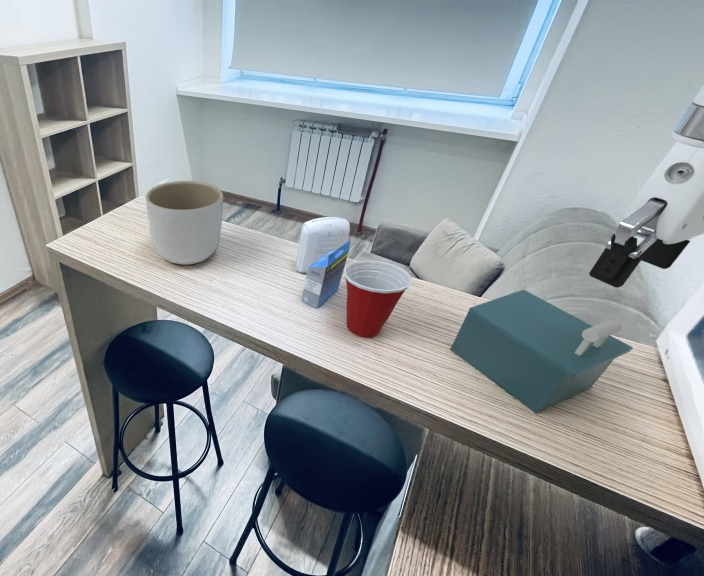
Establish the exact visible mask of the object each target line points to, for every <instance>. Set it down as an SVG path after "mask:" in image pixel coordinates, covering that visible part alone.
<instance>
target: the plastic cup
mask: <svg viewBox="0 0 704 576" xmlns="http://www.w3.org/2000/svg"><path fill="white" fill-rule="evenodd" d="M343 277H344V278H345V282H346V309H345V310H346V318H345V319H346V320H345V321H346V328H347V329H348V331H349V332H350V333H351V334H353V335H355V336H357V337H360V338H366V339H368V338H374V337H377V336H378V334H380V332H381V330H382V329H383V327H384V325H385V324H386V323H387V321H388V319H389V318H390V316H391V314H392V313H393V311H394V309H395V307H396V306H397V304H398V302H399V301H400V299H401V297H402V296H403V294H405V291H406V290H408V289H409V288H410V286H411V285H412V283H413V278H412V276H411V274H410V273H409V272H408V271H407V270H406V269H405V268H403V267H401V266H398V265H396V264H393V263H390V262H386V261H381V260H372V259H370V260H369V259H366V260H365V259H364V260H356V261H353V262H350V263H347V265H345V266H344V270H343Z"/></svg>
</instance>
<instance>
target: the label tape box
mask: <svg viewBox="0 0 704 576" xmlns="http://www.w3.org/2000/svg"><path fill="white" fill-rule="evenodd" d="M351 240H352V238H349V239H348V240H347V242H346V243H345V244H343V245H342V246H340V247H339V248H337V249H336V250H331V251H329V252H328V253H327V254H325V255H324V256H323V257H321V258H320V259H319V260H318V261H316V262H315V263H314V264H312V265H311V266H310V267H308V271H307V273H306V275H305V276H306V277H305V281H304V286H303V290H302V295H301V302H302V303H305V304H307V305H308V306H310V307H313V308H314V309H318V308H320V307H321V306H322V305H323V304H324V303H325V302H326V301H327V300H329V299H330V297H332V296H333V295H334V294H335V293H336V292H337V291H338V290H339V288H340V284H341V280H342V277H343V275H344V268H345V267H346V262H347V259H348V255H349V251H350V248H351Z"/></svg>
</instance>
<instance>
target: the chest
mask: <svg viewBox="0 0 704 576" xmlns="http://www.w3.org/2000/svg"><path fill="white" fill-rule="evenodd" d="M450 351H452V352H453V353H454V354H456V356H458V357H460V358H461V359H462V360H463V361H465V362H466V363H467V364H469V365H470V366H471V367H473V368H474V369H476V371H478V372H479V373H481V374H482V375H484V376H485V377H486V378H488V379H489V380H491V382H493V383H494V384H496V385H497V386H498V387H500V388H501V389H503V390H504V391H505V392H506V393H508V394H509V395H511V396H512V397H514V398H515V399H516V400H517V401H518V402H520V403H521V404H523V405H524V406H525V407H527V408H528V409H529V410H530V411H533V413H535V414H540V413H541V412H544V411H546V410H548V409H550V408H552V407H555V406H556V405H558V404H560V403H562V402H564V401H567V400H568V399H571V398H573V397H574V396H577V395H579V394H581V393H583V392H585V391H587V390H589V389H591V388H592V387H593V386H594V385H595V384H596V382H597V381H598V380H599V379H600V377H601V376H602V375H603V374H604V373H605V371H606V370H607V369H608V367H609V366H610V365H611V364H612V362H613V361H614V360H615V359H613V360H611V361H608V362H606V363H604V364H602V365H600V366H598V367H595V368H593V369H591V370H589V371H587V372H585V373H582V374H580V375H578V376H576V377H574V378H572V377H570V376H569V375H567V374H566V373H564V372H562V371H561V370H559V369H558V368H556V367H555V366H553V365H551V364H550V363H548V362H547V361H545V360H544V359H542V358H540V357H539V356H537V355H536V354H534V353H533V352H531V351H529V350H528V349H526V348H525V347H523V346H522V345H520V344H518V343H517V342H515V341H514V340H512V339H511V338H509V337H508V336H506V335H504V334H503V333H501V332H500V331H498V330H497V329H495V328H493V327H492V326H490V325H489V324H487V323H486V322H484V321H482V320H481V319H479V318H478V317H476V316H475V315H473V314H471V313H470V312H467V313H466V316H465V317H464V319H463V322H462V324H461V326H460V328H459V329H458V332H457V334H456V336H455V339H454V341H453V343H452V345H451V347H450Z"/></svg>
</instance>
